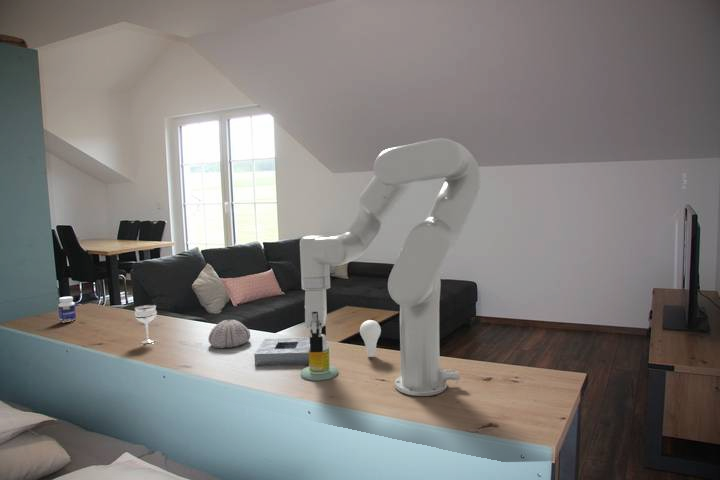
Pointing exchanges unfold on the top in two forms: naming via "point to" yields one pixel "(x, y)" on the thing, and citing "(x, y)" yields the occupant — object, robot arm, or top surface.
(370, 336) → the lightbulb
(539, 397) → the top surface
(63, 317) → the pill bottle
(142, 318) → the wineglass
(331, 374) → the pad
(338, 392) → the top surface
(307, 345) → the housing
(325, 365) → the supplement bottle
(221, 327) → the sea urchin shell
